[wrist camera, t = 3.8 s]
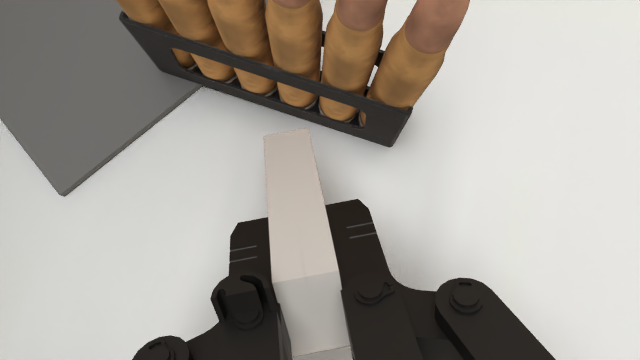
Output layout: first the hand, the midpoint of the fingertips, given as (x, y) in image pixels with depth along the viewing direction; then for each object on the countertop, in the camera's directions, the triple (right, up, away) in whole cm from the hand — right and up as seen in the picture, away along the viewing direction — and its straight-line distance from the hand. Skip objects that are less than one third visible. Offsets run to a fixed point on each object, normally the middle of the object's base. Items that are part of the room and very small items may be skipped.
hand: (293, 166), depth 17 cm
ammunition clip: (-1, +3, +5) cm, 6 cm away
